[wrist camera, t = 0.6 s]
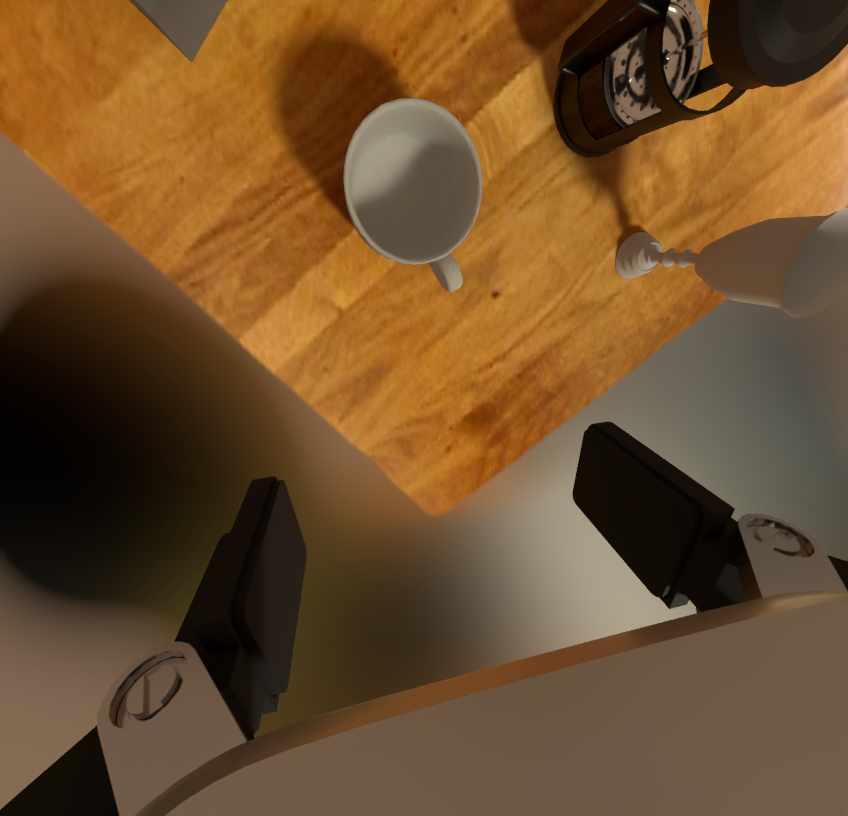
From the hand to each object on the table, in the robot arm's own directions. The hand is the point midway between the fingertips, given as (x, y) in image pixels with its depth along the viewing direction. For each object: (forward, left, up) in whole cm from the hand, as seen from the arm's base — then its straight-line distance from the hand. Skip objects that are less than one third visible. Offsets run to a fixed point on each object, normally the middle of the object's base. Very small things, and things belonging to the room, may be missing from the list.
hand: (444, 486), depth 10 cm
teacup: (-9, -4, -30) cm, 31 cm away
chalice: (-25, +18, -30) cm, 43 cm away
